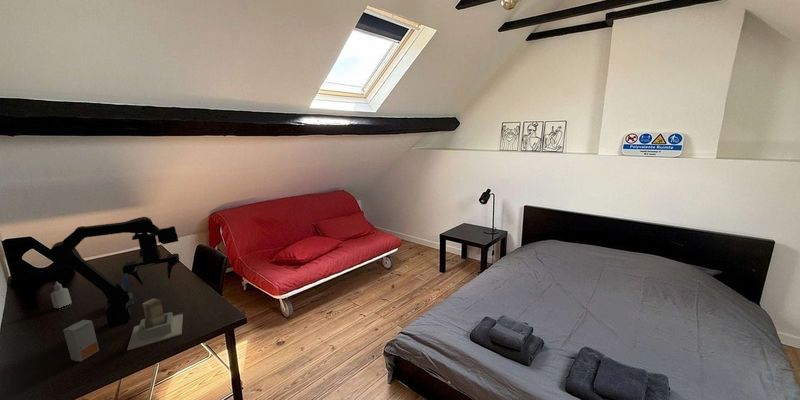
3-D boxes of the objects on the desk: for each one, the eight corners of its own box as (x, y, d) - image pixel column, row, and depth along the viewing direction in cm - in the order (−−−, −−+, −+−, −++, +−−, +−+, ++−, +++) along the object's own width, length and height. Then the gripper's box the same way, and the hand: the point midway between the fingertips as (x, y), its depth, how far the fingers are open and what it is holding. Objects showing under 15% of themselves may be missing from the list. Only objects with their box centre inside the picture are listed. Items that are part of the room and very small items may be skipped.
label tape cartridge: (119, 301, 149) (113, 276, 146) (130, 297, 152) (124, 273, 149) (123, 307, 143) (117, 282, 140) (135, 303, 146) (129, 278, 143)
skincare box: (80, 362, 109) (72, 330, 107) (71, 360, 110) (62, 329, 108) (100, 350, 115) (92, 320, 113) (91, 348, 116) (82, 319, 113)
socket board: (127, 350, 115) (125, 340, 114) (134, 327, 128) (132, 318, 127) (181, 334, 123) (179, 325, 122) (182, 314, 136) (181, 306, 135)
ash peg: (148, 331, 124) (142, 303, 121) (159, 325, 128) (153, 298, 125) (155, 333, 123) (149, 305, 120) (166, 327, 127) (160, 299, 124)
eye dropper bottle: (73, 305, 146) (66, 281, 143) (55, 311, 142) (47, 286, 139) (71, 302, 149) (64, 278, 146) (53, 307, 144) (46, 283, 142)
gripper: (176, 237, 146) (182, 269, 150) (123, 246, 137) (131, 280, 140) (175, 244, 137) (181, 278, 141) (118, 254, 128) (126, 290, 131)
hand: (156, 281), depth 138 cm, fingers open, 9 cm apart
